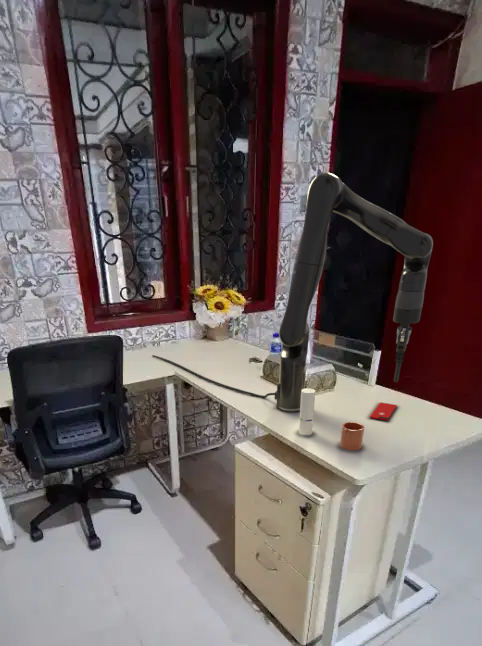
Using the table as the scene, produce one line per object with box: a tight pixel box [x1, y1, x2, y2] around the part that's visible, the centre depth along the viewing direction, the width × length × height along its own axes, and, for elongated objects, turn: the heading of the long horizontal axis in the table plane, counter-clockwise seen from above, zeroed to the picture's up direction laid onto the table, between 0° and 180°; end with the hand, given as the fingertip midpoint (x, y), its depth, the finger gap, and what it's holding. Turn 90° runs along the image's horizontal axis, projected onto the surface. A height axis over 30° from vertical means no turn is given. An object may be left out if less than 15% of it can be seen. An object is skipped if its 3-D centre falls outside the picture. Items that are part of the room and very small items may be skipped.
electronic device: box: [369, 402, 398, 422], centre depth 148 cm, size 6×1×15 cm
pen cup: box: [339, 421, 365, 451], centre depth 125 cm, size 6×6×7 cm
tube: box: [298, 387, 316, 436], centre depth 133 cm, size 4×4×15 cm
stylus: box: [393, 346, 403, 383], centre depth 134 cm, size 1×1×12 cm
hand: (398, 361), depth 133 cm, fingers closed on stylus, 1 cm apart
